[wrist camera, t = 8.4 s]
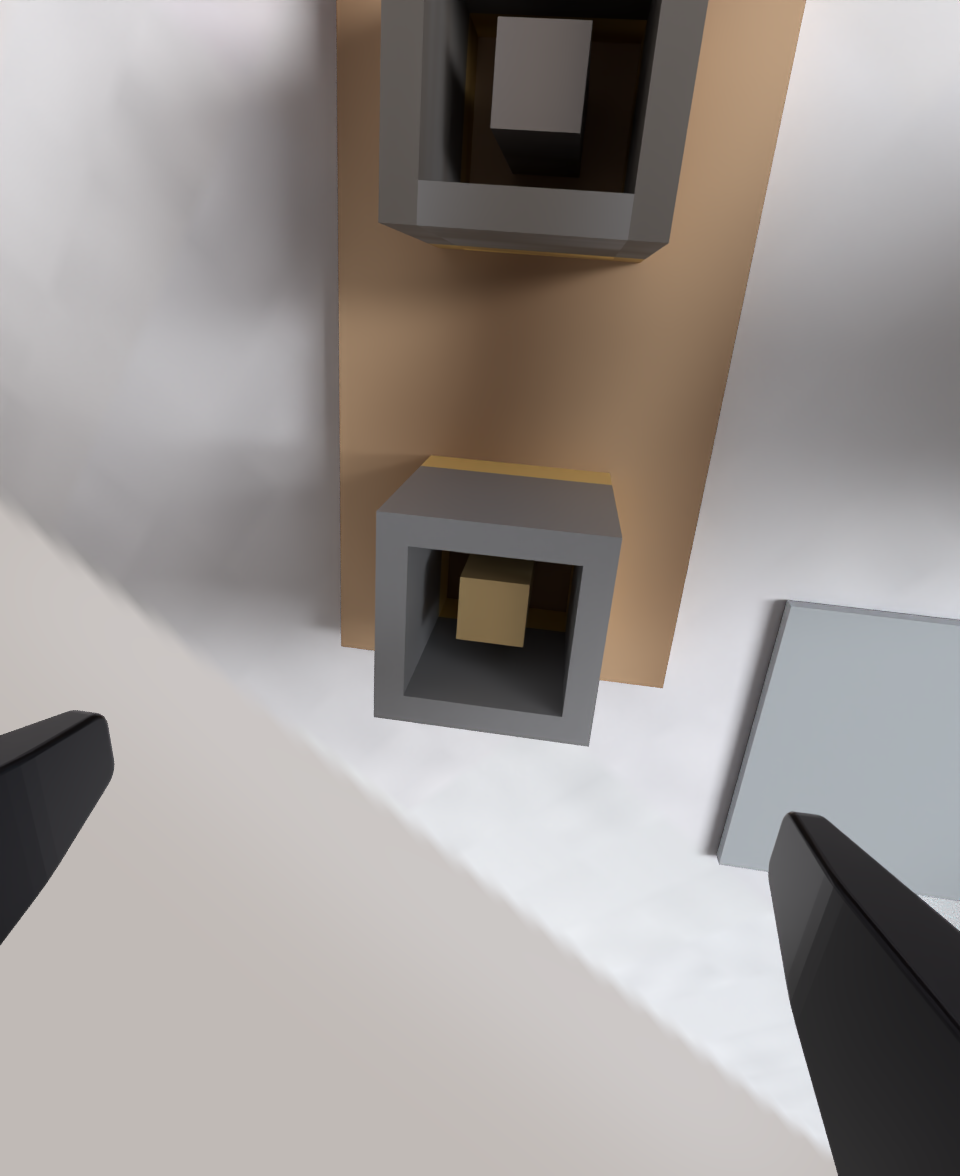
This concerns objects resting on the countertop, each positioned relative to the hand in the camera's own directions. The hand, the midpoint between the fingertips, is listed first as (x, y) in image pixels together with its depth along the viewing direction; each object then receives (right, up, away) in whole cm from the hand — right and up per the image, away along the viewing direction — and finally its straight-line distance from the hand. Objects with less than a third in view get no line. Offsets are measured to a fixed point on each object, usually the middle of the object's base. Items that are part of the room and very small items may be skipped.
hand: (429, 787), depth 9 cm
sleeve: (+1, +4, +9) cm, 9 cm away
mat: (+13, -2, +11) cm, 17 cm away
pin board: (+2, +8, +8) cm, 12 cm away
